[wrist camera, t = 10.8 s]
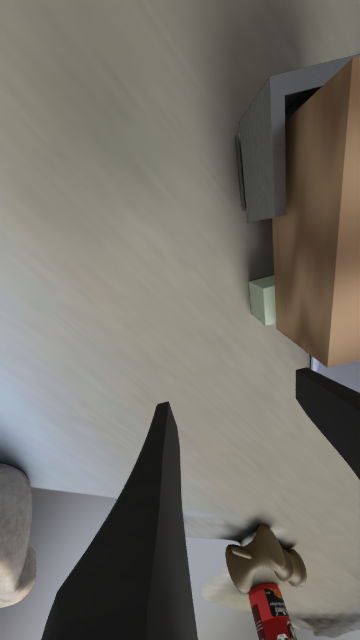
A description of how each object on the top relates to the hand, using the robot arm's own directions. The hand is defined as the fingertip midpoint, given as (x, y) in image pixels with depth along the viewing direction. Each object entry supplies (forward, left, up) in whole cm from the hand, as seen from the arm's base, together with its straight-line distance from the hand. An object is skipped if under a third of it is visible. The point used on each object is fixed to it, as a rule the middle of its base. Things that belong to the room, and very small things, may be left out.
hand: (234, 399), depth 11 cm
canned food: (-76, -2, -11) cm, 77 cm away
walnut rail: (+6, -8, -7) cm, 13 cm away
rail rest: (+2, -8, -10) cm, 13 cm away
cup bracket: (+12, -8, -10) cm, 17 cm away
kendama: (-50, -3, -11) cm, 51 cm away
